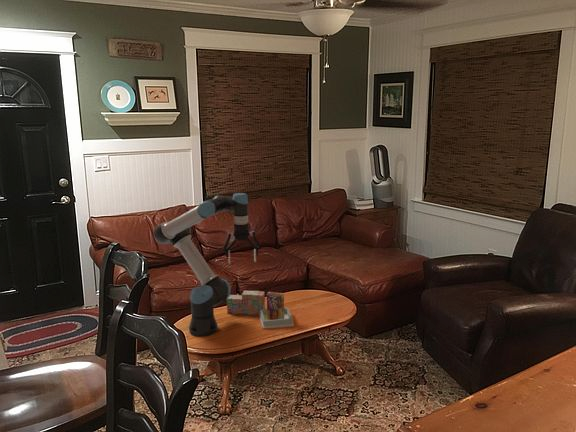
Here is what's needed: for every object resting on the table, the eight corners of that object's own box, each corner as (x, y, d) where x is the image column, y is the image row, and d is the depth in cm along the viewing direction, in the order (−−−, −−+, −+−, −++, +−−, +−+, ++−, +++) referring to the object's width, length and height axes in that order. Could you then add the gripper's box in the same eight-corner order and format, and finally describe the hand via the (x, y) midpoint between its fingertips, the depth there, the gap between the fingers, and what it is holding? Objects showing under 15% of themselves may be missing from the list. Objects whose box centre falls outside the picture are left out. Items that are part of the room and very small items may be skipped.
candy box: (284, 318, 279) (284, 292, 276) (281, 321, 275) (281, 295, 272) (269, 316, 282) (269, 291, 279) (266, 319, 278) (266, 293, 275)
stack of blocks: (226, 313, 289) (226, 293, 287) (229, 309, 296) (228, 289, 293) (263, 315, 287) (262, 295, 284) (265, 310, 293) (264, 291, 290)
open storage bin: (262, 328, 269) (262, 321, 268) (259, 315, 286) (259, 309, 285) (293, 326, 272) (293, 319, 271) (288, 313, 288) (288, 306, 287)
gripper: (217, 226, 254) (218, 265, 258) (266, 223, 258) (266, 262, 263) (216, 222, 261) (218, 261, 266) (264, 220, 265) (264, 258, 270)
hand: (242, 262), depth 264 cm, fingers open, 13 cm apart
